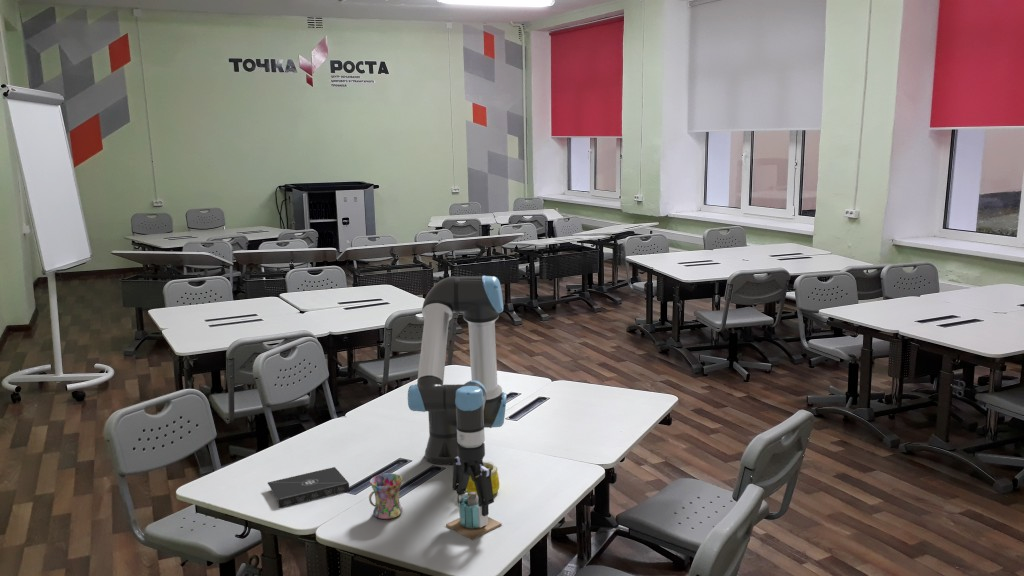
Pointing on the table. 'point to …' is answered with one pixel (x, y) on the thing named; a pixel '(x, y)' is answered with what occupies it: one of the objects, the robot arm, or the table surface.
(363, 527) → the table surface
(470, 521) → the teal slatted pot
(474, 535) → the peg on square base
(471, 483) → the mug
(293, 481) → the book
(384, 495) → the mug
